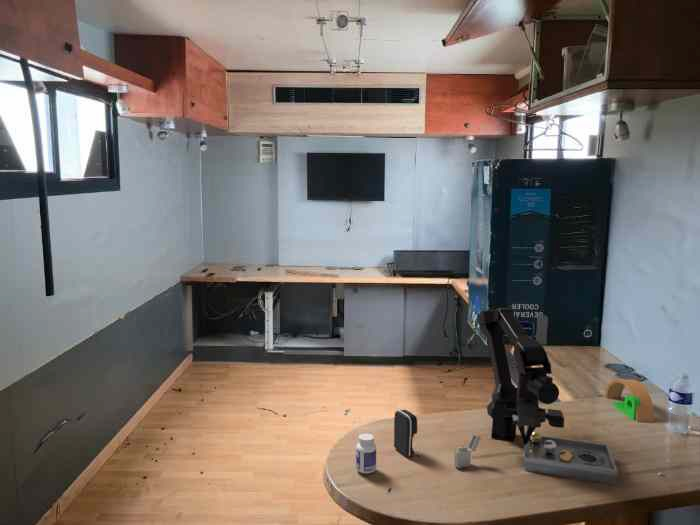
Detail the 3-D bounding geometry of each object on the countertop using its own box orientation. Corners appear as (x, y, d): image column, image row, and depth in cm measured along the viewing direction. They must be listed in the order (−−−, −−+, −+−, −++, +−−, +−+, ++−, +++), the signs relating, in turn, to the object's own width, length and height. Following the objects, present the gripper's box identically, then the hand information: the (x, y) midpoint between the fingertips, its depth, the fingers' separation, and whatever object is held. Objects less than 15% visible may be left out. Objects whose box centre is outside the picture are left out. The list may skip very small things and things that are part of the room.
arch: (620, 398, 190) (622, 371, 189) (654, 422, 170) (657, 392, 169) (604, 398, 190) (606, 371, 188) (636, 422, 170) (639, 392, 169)
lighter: (457, 468, 140) (458, 439, 139) (453, 465, 142) (454, 436, 141) (479, 463, 143) (481, 435, 142) (476, 460, 145) (477, 432, 144)
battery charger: (418, 454, 147) (419, 415, 146) (407, 457, 145) (408, 418, 144) (403, 444, 153) (404, 406, 152) (392, 447, 152) (393, 409, 150)
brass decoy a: (529, 444, 149) (530, 432, 149) (529, 438, 152) (529, 427, 152) (542, 446, 148) (542, 434, 148) (541, 440, 151) (542, 429, 151)
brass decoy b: (558, 465, 138) (559, 452, 137) (557, 459, 141) (558, 447, 141) (572, 467, 137) (573, 454, 136) (571, 461, 140) (572, 448, 140)
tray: (524, 470, 140) (525, 457, 139) (523, 445, 154) (524, 433, 153) (616, 485, 133) (617, 471, 133) (606, 457, 148) (607, 444, 147)
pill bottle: (378, 466, 141) (379, 434, 140) (371, 475, 136) (372, 443, 135) (360, 462, 143) (361, 430, 142) (352, 471, 138) (353, 438, 137)
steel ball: (543, 454, 143) (544, 442, 143) (542, 448, 147) (543, 436, 146) (556, 456, 142) (557, 444, 142) (555, 450, 146) (556, 438, 145)
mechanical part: (651, 422, 171) (653, 398, 170) (633, 422, 171) (635, 398, 170) (629, 407, 183) (631, 385, 182) (612, 407, 183) (614, 385, 182)
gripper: (491, 396, 139) (488, 452, 141) (568, 405, 134) (563, 463, 136) (493, 382, 150) (490, 434, 152) (564, 390, 145) (560, 444, 147)
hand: (525, 444), depth 146 cm, fingers closed
